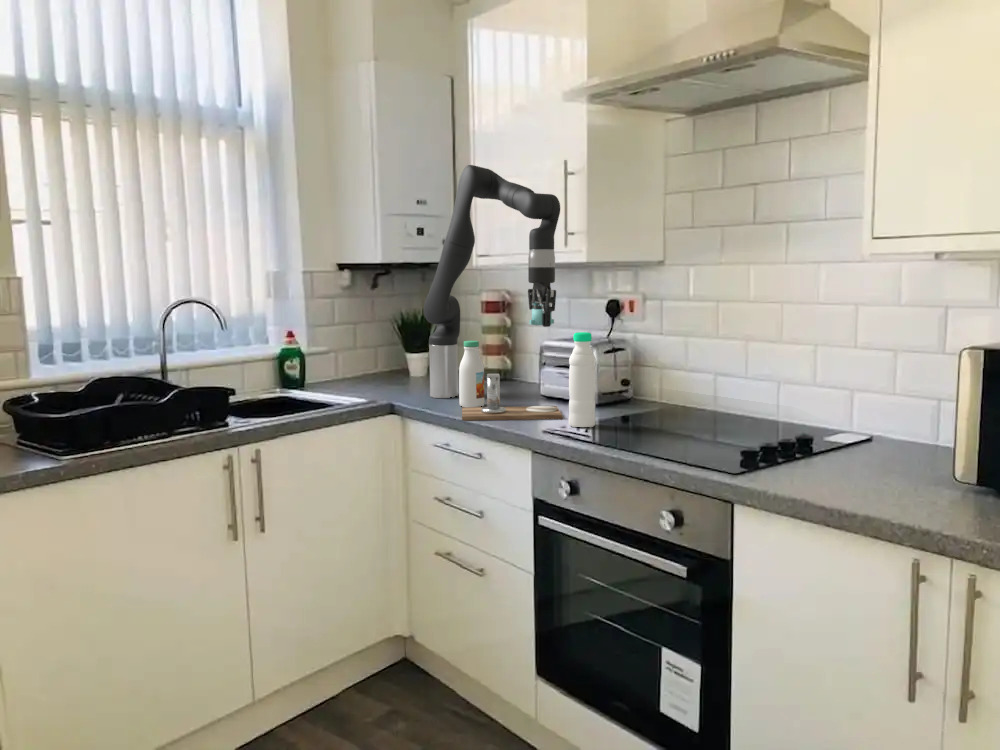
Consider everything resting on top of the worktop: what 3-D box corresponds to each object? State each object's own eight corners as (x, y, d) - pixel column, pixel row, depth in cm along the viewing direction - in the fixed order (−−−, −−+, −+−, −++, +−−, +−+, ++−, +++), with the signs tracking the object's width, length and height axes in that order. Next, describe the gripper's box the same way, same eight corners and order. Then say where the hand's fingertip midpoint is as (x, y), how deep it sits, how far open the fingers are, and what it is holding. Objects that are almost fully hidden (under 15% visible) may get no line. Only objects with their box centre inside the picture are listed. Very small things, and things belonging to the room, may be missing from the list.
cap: (548, 323, 230) (548, 304, 229) (557, 324, 225) (557, 305, 224) (526, 324, 227) (526, 305, 226) (534, 325, 222) (534, 306, 221)
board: (462, 411, 234) (462, 406, 234) (556, 410, 236) (556, 404, 235) (462, 420, 220) (461, 414, 220) (562, 419, 222) (562, 413, 221)
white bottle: (594, 429, 208) (594, 333, 204) (567, 428, 209) (567, 333, 206) (596, 423, 215) (597, 331, 211) (570, 423, 216) (570, 331, 213)
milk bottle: (468, 409, 238) (467, 342, 235) (454, 405, 244) (453, 340, 241) (489, 406, 242) (489, 341, 240) (475, 403, 249) (474, 339, 246)
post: (481, 409, 230) (480, 372, 228) (505, 409, 230) (504, 372, 229) (481, 414, 223) (481, 376, 222) (506, 414, 223) (506, 376, 222)
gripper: (565, 265, 218) (565, 327, 221) (542, 266, 232) (542, 323, 234) (540, 266, 216) (540, 328, 218) (519, 266, 229) (519, 324, 231)
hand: (541, 325), depth 226 cm, fingers closed on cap, 5 cm apart
